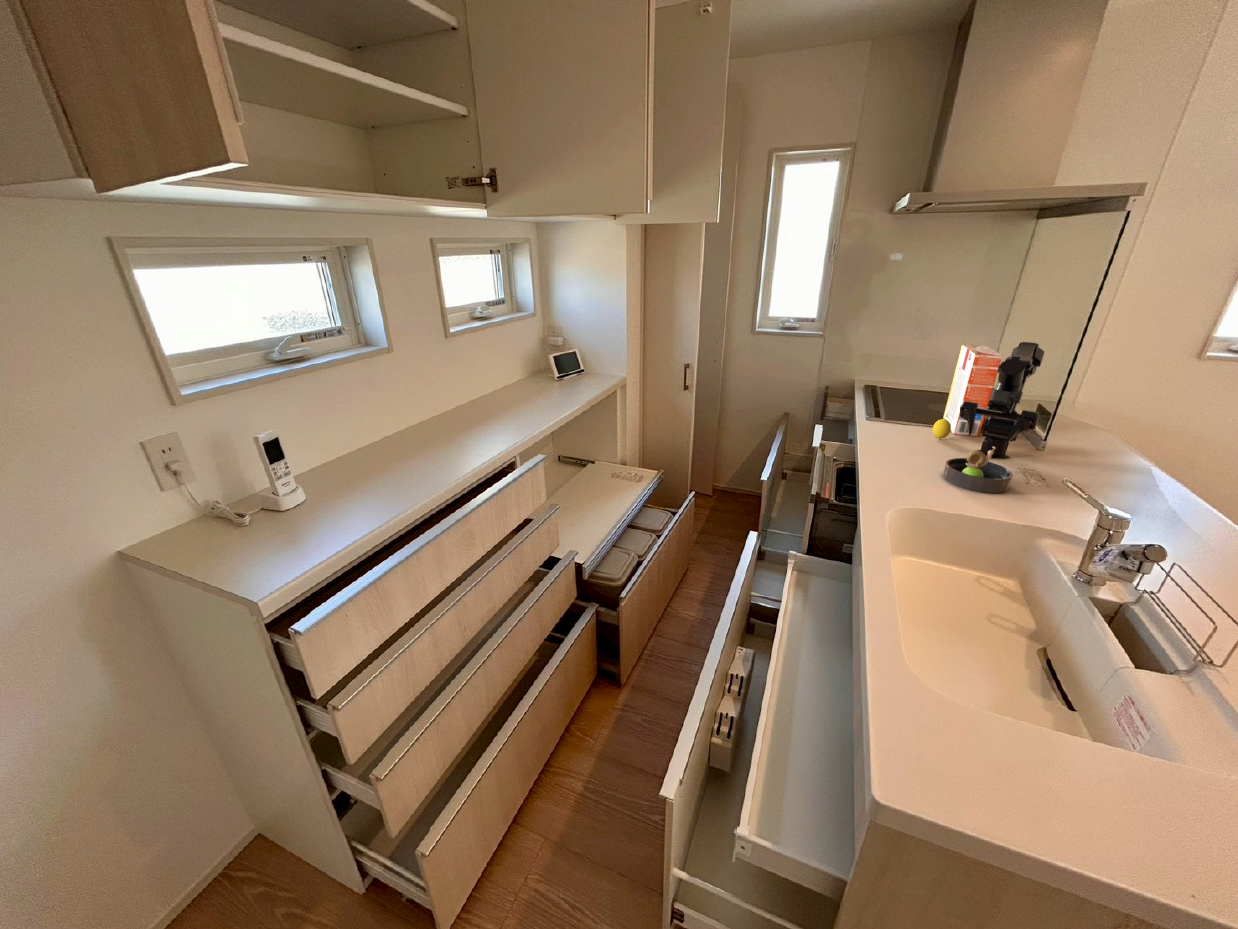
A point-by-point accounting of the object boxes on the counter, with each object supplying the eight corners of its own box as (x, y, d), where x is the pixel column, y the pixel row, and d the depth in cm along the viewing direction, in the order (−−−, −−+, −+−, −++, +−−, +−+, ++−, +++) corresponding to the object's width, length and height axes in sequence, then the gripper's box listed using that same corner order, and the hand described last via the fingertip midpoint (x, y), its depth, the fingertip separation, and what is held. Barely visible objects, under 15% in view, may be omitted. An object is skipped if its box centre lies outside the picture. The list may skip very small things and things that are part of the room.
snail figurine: (987, 489, 142) (1000, 450, 138) (963, 487, 143) (974, 448, 139) (979, 481, 147) (990, 443, 143) (955, 479, 148) (966, 442, 144)
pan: (980, 470, 156) (984, 457, 154) (1022, 493, 141) (1027, 478, 139) (930, 471, 155) (934, 458, 153) (967, 494, 140) (971, 480, 138)
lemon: (948, 442, 179) (953, 421, 176) (930, 440, 182) (935, 419, 179) (947, 438, 184) (953, 417, 180) (930, 436, 186) (935, 415, 183)
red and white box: (978, 436, 185) (1002, 355, 174) (953, 434, 188) (975, 354, 177) (965, 419, 205) (986, 345, 193) (943, 417, 208) (962, 344, 196)
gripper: (969, 374, 148) (951, 417, 145) (1049, 384, 136) (1031, 431, 133) (968, 395, 157) (951, 436, 153) (1043, 406, 145) (1026, 451, 141)
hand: (987, 438), depth 145 cm, fingers open, 9 cm apart
